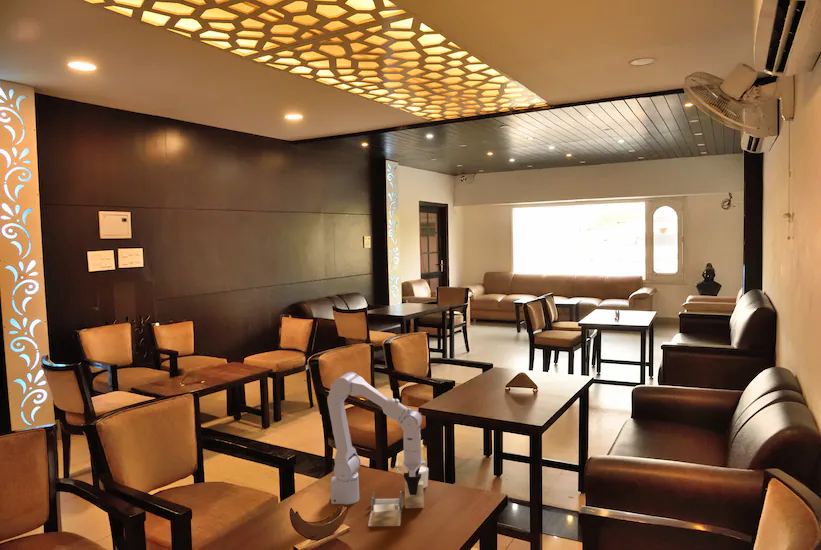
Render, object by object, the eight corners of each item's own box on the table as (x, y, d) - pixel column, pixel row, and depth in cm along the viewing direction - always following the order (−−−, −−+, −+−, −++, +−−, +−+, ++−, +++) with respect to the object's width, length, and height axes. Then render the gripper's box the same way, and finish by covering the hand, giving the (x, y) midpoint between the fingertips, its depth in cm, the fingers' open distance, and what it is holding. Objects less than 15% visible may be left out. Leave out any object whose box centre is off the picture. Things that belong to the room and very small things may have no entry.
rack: (367, 529, 171) (367, 513, 170) (373, 504, 187) (372, 490, 186) (400, 528, 170) (399, 513, 170) (402, 504, 186) (402, 489, 186)
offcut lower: (371, 524, 172) (371, 518, 172) (372, 516, 177) (372, 510, 177) (397, 524, 171) (396, 517, 171) (398, 516, 176) (397, 509, 176)
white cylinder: (429, 483, 201) (429, 465, 201) (428, 492, 194) (427, 473, 194) (410, 483, 202) (410, 464, 202) (409, 492, 195) (408, 472, 195)
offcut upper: (375, 518, 171) (374, 512, 171) (373, 511, 176) (373, 505, 176) (395, 516, 172) (395, 510, 172) (394, 509, 177) (393, 503, 176)
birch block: (405, 510, 182) (404, 484, 181) (405, 506, 184) (404, 481, 184) (423, 509, 181) (422, 484, 181) (423, 506, 184) (422, 481, 183)
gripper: (424, 457, 174) (425, 499, 175) (424, 440, 189) (425, 479, 190) (402, 457, 174) (403, 499, 175) (404, 440, 189) (405, 479, 190)
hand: (413, 489), depth 182 cm, fingers open, 7 cm apart
